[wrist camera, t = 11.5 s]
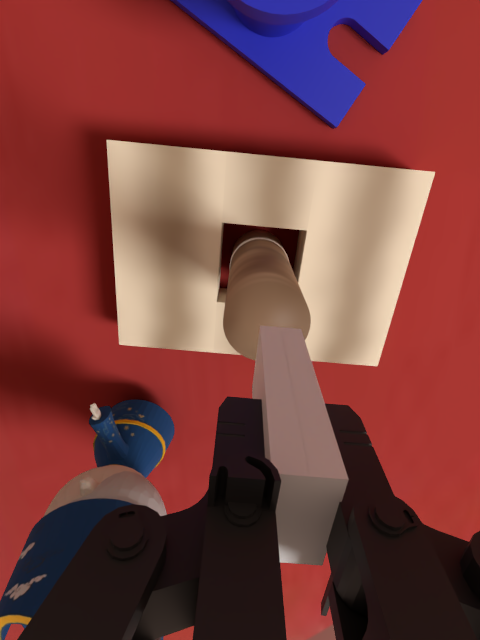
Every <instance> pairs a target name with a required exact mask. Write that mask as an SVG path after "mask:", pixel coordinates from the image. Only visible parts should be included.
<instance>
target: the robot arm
mask: <svg viewBox="0 0 480 640" xmlns="http://www.w3.org/2000/svg"><path fill="white" fill-rule="evenodd" d="M252 396H253V399H250V398H238V397H227V398H226V399H225V400H224V402H223V403H222V404H221V406H220V407H219V412H218V421H217V430H216V439H215V448H214V457H213V466H212V470H211V473H210V477H209V489H208V491H207V492H206V494H205V496H204V497H203V498H202V499H201V500H200V501H199V502H198V503H197V504H195V505H193V506H192V507H190V508H188V509H185V510H183V511H180V512H176V513H172V514H168V515H164V516H160V515H159V514H158V512H157V511H155V510H153V509H151V508H149V507H148V506H145V505H136V504H131V505H127V506H122V507H118V508H117V509H115V510H113V511H111V512H110V513H108V514H106V515H105V516H104V517H103V518H102V519H101V520H100V521H99V522H98V523H97V524H96V525H95V526H94V528H93V529H92V531H91V532H90V534H89V535H88V536H87V538H86V539H85V541H84V542H83V544H82V545H81V547H80V548H79V550H78V551H77V553H76V554H75V556H74V557H73V559H72V560H71V561H70V563H69V564H68V566H67V567H66V569H65V570H64V572H63V573H62V575H61V576H60V578H59V579H58V581H57V582H56V584H55V585H54V586H53V588H52V589H51V591H50V592H49V594H48V595H47V597H46V598H45V600H44V601H43V603H42V604H41V606H40V607H39V609H38V610H37V611H36V613H35V614H34V616H33V617H32V619H31V620H30V622H29V623H28V625H27V626H26V628H25V629H24V631H23V632H22V634H21V635H20V636H19V638H18V639H17V640H161V637H163V636H165V635H168V634H171V633H174V632H177V631H180V630H182V629H185V628H188V627H191V626H194V633H193V640H286V628H285V616H284V605H283V593H282V581H281V569H280V562H283V563H297V564H310V565H323V561H324V558H325V555H326V552H327V553H328V558H329V563H330V568H331V575H330V578H329V581H328V584H327V587H326V590H325V593H324V596H323V599H322V602H321V615H324V616H326V615H327V612H328V609H329V606H330V609H331V614H332V620H333V625H334V630H335V636H336V640H480V531H479V532H477V533H475V534H474V535H473V536H472V538H471V540H470V542H467V541H465V540H462V539H459V538H457V537H454V536H451V535H448V534H446V533H443V532H440V531H437V530H435V529H433V528H431V527H428V526H426V525H424V524H423V523H422V522H421V521H420V519H419V518H418V516H417V515H416V513H415V512H414V510H413V509H412V508H410V507H409V506H408V505H407V504H406V503H405V502H404V501H402V500H401V499H399V498H397V497H395V496H394V494H393V492H392V489H391V487H390V485H389V483H388V480H387V478H386V476H385V473H384V471H383V469H382V466H381V464H380V462H379V460H378V457H377V455H376V453H375V450H374V448H373V447H372V443H371V441H370V439H369V437H368V435H367V434H366V433H367V432H366V430H365V427H364V425H363V423H362V420H361V418H360V417H359V416H358V415H357V414H356V413H355V412H354V411H353V410H352V409H351V408H350V407H349V406H348V405H336V404H325V403H324V400H323V397H322V394H321V390H320V387H319V384H318V381H317V378H316V375H315V371H314V368H313V365H312V362H311V359H310V356H309V352H308V349H307V346H306V343H305V340H304V337H303V333H302V330H301V329H295V328H283V327H272V326H261V325H260V330H259V338H258V346H257V354H256V362H255V370H254V378H253V386H252Z"/></svg>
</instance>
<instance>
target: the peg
mask: <svg viewBox="0 0 480 640" xmlns="http://www.w3.org/2000/svg"><path fill="white" fill-rule="evenodd" d="M229 270H230V271H229V279H228V286H227V294H226V301H225V308H224V316H223V329H224V333H225V336H226V338H227V340H228V342H229V344H230V345H231V346H232V347H233V348H234V349H235V350H236V351H237V352H238V353H240V354H241V355H243V356H245V357H247V358H249V359H252V360H256V354H257V346H258V338H259V330H260V325H261V326H272V327H283V328H295V329H301V330H302V333H303V337H304V340H305V339H306V338H307V336H308V333H309V330H310V324H311V317H310V311H309V308H308V306H307V303H306V301H305V299H304V296H303V294H302V291H301V289H300V287H299V284H298V282H297V279H296V277H295V275H294V272H293V270H292V268H291V265H290V263H289V259H288V256H287V254H286V252H285V250H284V248H283V246H282V244H281V242H280V241H279V239H278V238H277V237H276V236H275V235H273V234H272V233H270V232H268V231H265V230H253V231H249V232H247V233H245V234H243V235H242V236H241V237H240V238H239V239H238V240H237V241H236V243H235V245H234V247H233V250H232V256H231V260H230V268H229Z"/></svg>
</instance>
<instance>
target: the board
mask: <svg viewBox="0 0 480 640" xmlns="http://www.w3.org/2000/svg"><path fill="white" fill-rule="evenodd" d="M106 141H107V156H108V172H109V188H110V204H111V220H112V236H113V252H114V268H115V284H116V300H117V316H118V332H119V345H129V346H141V347H153V348H165V349H177V350H189V351H201V352H213V353H225V354H237V355H241V354H240V353H238V352H237V351H236V350H235V349H234V348H233V347H232V346H231V345H230V344H229V342H228V340H227V338H226V336H225V333H224V329H223V316H224V308H225V301H226V294H227V289H226V288H219V287H220V273H221V258H222V243H223V229H224V223H231V224H242V225H253V226H264V227H274V228H285V229H296V230H299V235H298V242H297V248H296V254H295V261H294V267H293V272H294V275H295V277H296V279H297V282H298V284H299V287H300V289H301V291H302V294H303V296H304V299H305V301H306V303H307V306H308V308H309V311H310V317H311V324H310V330H309V333H308V336H307V338H306V339H305V343H306V346H307V349H308V352H309V356H310V359H311V361H320V362H332V363H344V364H356V365H368V366H378V363H379V359H380V356H381V353H382V349H383V346H384V343H385V339H386V336H387V333H388V329H389V326H390V323H391V319H392V316H393V312H394V309H395V306H396V302H397V299H398V296H399V292H400V289H401V286H402V282H403V279H404V275H405V272H406V269H407V265H408V262H409V259H410V255H411V252H412V249H413V245H414V242H415V239H416V235H417V232H418V228H419V225H420V222H421V218H422V215H423V212H424V208H425V205H426V202H427V198H428V195H429V191H430V188H431V185H432V181H433V178H434V175H435V172H429V171H419V170H409V169H399V168H389V167H378V166H368V165H358V164H348V163H338V162H328V161H318V160H307V159H297V158H287V157H277V156H267V155H257V154H247V153H236V152H226V151H216V150H206V149H196V148H186V147H176V146H166V145H155V144H145V143H135V142H125V141H115V140H106Z"/></svg>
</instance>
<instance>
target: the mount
mask: <svg viewBox="0 0 480 640" xmlns="http://www.w3.org/2000/svg"><path fill="white" fill-rule="evenodd" d="M171 1H172V2H173V3H174V4H176V5H177V6H178V7H179V8H181V9H182V10H183V11H185V12H186V13H187V14H188V15H190V16H191V17H192V18H193V19H195V20H196V21H197V22H198V23H200V24H201V25H202V26H204V27H205V28H206V29H207V30H209V31H210V32H211V33H212V34H214V35H215V36H216V37H217V38H219V39H220V40H221V41H223V42H224V43H225V44H226V45H228V46H229V47H230V48H231V49H233V50H234V51H235V52H236V53H238V54H239V55H240V56H242V57H243V58H244V59H245V60H247V61H248V62H249V63H250V64H252V65H253V66H254V67H255V68H257V69H258V70H259V71H261V72H262V73H263V74H264V75H266V76H267V77H268V78H269V79H271V80H272V81H273V82H274V83H276V84H277V85H278V86H280V87H281V88H282V89H283V90H285V91H286V92H287V93H288V94H290V95H291V96H292V97H293V98H295V99H296V100H297V101H299V102H300V103H301V104H302V105H304V106H305V107H306V108H307V109H309V110H310V111H311V112H312V113H314V114H315V115H316V116H318V117H319V118H320V119H321V120H323V121H324V122H325V123H326V124H328V125H329V126H330V127H331V128H333V129H334V128H337V126H338V125H339V123H340V122H341V120H342V119H343V118H344V116H345V115H346V113H347V112H348V110H349V109H350V107H351V106H352V104H353V103H354V101H355V100H356V98H357V97H358V95H359V94H360V92H361V91H362V89H363V88H364V86H365V85H366V84H365V83H364V82H363V81H362V80H360V79H359V78H358V77H357V76H356V75H354V74H353V73H352V72H351V71H350V70H349V69H347V68H346V67H345V66H344V65H343V64H341V63H340V62H339V61H338V60H337V59H336V58H334V57H333V56H332V55H331V53H330V51H329V49H328V43H327V40H328V34H329V31H330V29H331V28H333V27H334V26H336V25H338V24H346V25H349V26H350V27H351V28H352V29H354V30H355V31H356V32H357V33H358V34H359V35H360V36H362V37H363V38H364V39H365V40H366V41H367V42H368V43H369V44H371V45H372V46H373V47H374V48H375V49H376V50H377V51H379V52H380V53H381V54H382V55H383V54H384V53H386V52H387V51H388V50H389V49H390V48H391V46H392V45H393V43H394V42H395V40H396V39H397V37H398V36H399V34H400V33H401V31H402V30H403V28H404V27H405V25H406V24H407V22H408V21H409V19H410V18H411V16H412V15H413V13H414V12H415V10H416V9H417V8H418V6H419V5H420V3H421V2H422V0H171Z"/></svg>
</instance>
